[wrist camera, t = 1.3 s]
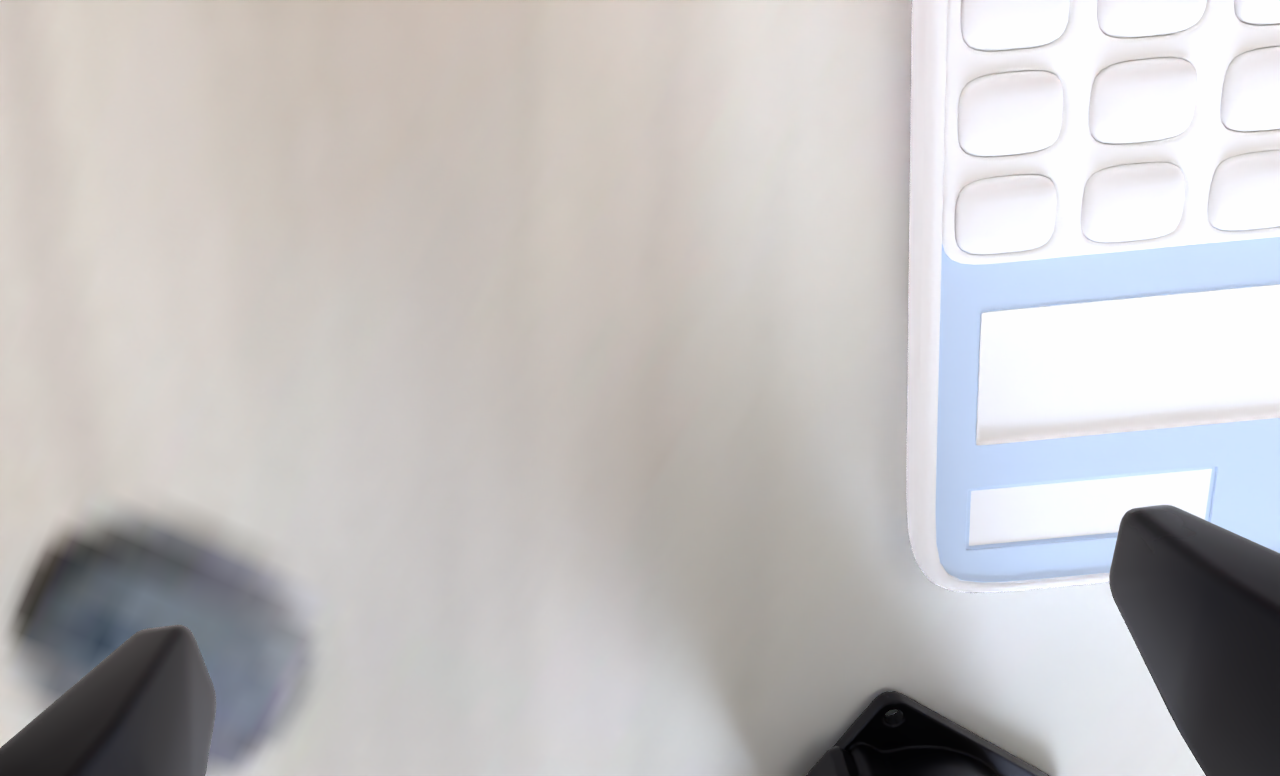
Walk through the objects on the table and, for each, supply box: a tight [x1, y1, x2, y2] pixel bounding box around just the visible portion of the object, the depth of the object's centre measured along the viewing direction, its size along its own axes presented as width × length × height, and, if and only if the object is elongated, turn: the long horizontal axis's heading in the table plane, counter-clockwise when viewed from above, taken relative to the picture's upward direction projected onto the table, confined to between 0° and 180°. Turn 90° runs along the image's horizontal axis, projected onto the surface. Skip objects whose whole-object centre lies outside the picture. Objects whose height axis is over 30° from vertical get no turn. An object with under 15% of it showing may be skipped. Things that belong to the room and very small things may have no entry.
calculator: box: [906, 0, 1280, 593], centre depth 20 cm, size 13×20×2 cm, turn 5°
